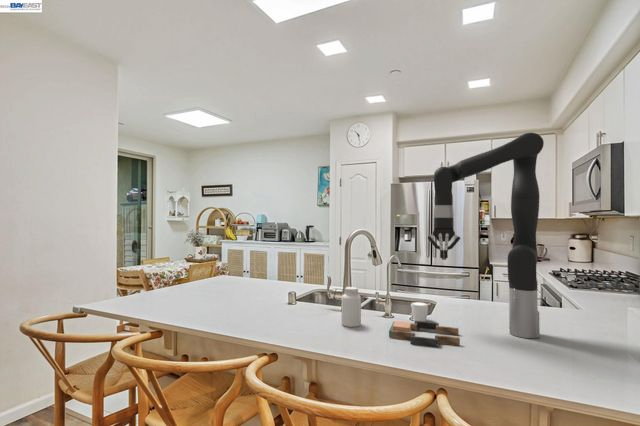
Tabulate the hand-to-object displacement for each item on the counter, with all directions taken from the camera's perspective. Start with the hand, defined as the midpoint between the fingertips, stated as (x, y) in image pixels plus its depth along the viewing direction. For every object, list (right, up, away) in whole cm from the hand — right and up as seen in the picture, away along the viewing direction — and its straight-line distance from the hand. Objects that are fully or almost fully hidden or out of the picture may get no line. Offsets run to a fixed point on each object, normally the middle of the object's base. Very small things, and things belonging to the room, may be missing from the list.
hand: (443, 259), depth 139 cm
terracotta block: (-19, -27, -10) cm, 35 cm away
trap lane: (-12, -27, -12) cm, 31 cm away
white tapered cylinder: (-7, -27, +9) cm, 30 cm away
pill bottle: (-37, -27, +2) cm, 46 cm away
